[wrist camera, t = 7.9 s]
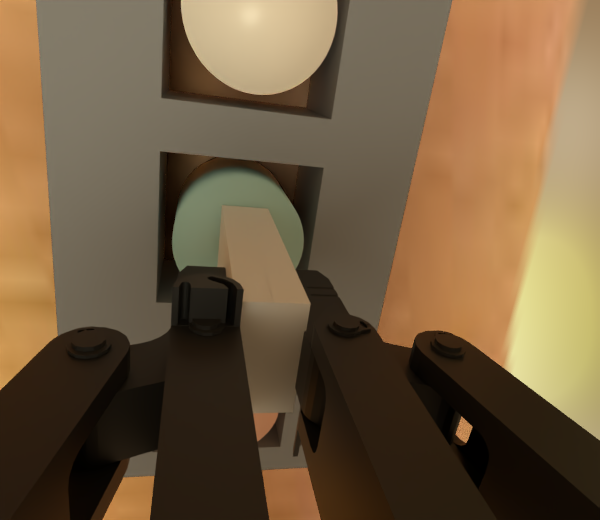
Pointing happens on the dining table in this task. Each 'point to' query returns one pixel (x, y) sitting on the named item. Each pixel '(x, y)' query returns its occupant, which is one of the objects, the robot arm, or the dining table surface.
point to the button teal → (232, 192)
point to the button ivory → (260, 40)
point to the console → (228, 144)
